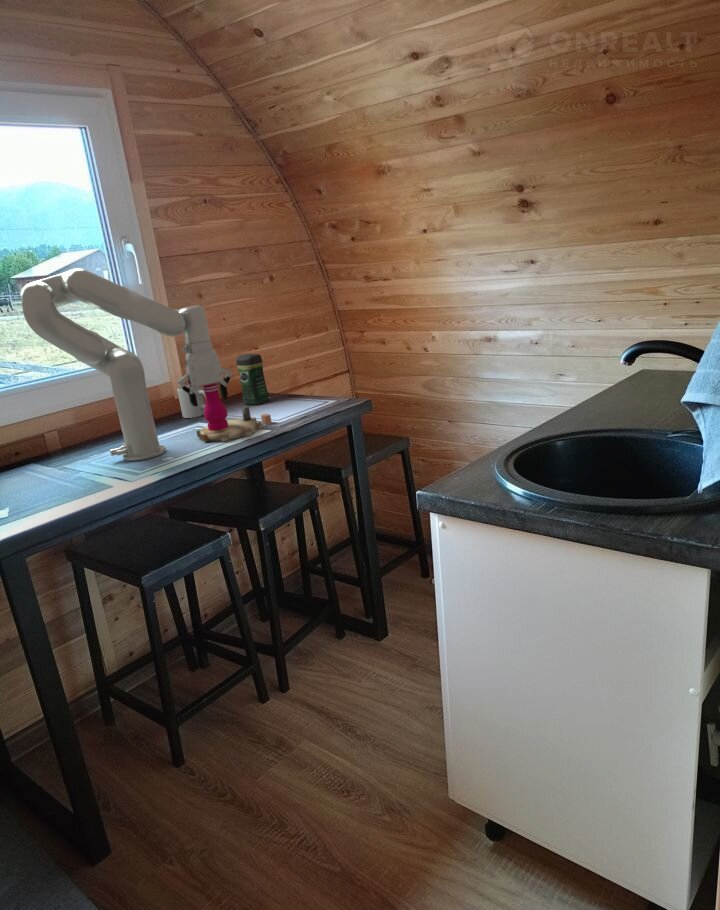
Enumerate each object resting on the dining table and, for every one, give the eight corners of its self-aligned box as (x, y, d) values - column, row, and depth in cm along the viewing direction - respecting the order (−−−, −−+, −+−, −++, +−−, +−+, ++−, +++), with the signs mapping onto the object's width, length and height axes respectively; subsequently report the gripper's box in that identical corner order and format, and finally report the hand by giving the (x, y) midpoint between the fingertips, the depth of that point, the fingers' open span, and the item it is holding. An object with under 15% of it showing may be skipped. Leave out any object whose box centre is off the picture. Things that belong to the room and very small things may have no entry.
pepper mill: (225, 430, 221) (212, 366, 215) (203, 431, 223) (190, 368, 217) (233, 423, 228) (221, 361, 222) (211, 425, 229) (199, 364, 224)
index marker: (266, 425, 232) (264, 416, 231) (262, 423, 234) (260, 415, 233) (271, 423, 233) (270, 414, 232) (268, 422, 235) (266, 413, 234)
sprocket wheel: (222, 444, 213) (218, 425, 212) (185, 438, 227) (181, 420, 226) (274, 426, 227) (271, 407, 225) (236, 421, 241) (233, 403, 239)
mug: (178, 419, 259) (171, 389, 256) (192, 413, 267) (186, 384, 263) (204, 418, 254) (198, 388, 251) (218, 412, 261) (213, 383, 258)
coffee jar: (273, 401, 268) (264, 351, 262) (257, 406, 262) (248, 356, 257) (256, 399, 274) (247, 351, 269) (240, 405, 269) (231, 356, 263)
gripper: (175, 353, 210) (187, 410, 215) (230, 342, 218) (240, 397, 223) (167, 352, 216) (179, 407, 221) (221, 341, 224) (231, 394, 229)
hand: (210, 402), depth 222 cm, fingers open, 9 cm apart
